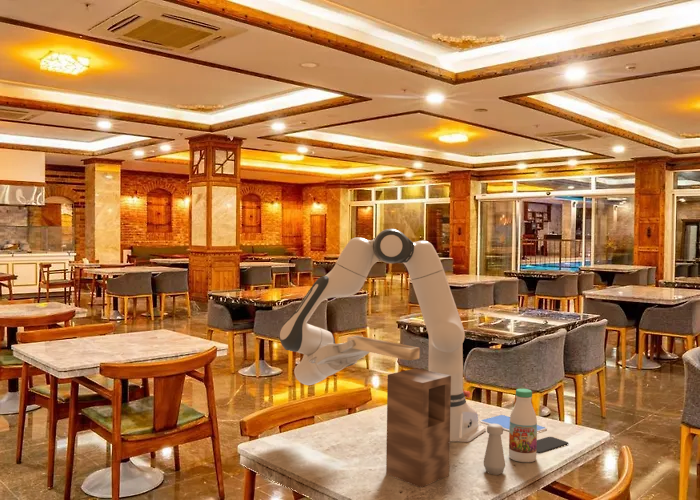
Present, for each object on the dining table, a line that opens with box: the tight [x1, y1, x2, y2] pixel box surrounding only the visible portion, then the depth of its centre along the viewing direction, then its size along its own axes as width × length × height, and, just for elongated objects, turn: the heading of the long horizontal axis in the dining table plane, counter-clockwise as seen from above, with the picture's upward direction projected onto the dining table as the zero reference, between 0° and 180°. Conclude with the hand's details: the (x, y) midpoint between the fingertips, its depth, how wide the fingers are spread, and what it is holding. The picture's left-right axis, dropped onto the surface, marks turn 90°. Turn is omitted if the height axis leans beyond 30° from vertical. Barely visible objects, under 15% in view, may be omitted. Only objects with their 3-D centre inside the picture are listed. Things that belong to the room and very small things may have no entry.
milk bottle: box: [508, 388, 538, 463], centre depth 179 cm, size 8×8×20 cm
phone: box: [536, 436, 569, 454], centre depth 191 cm, size 7×1×15 cm
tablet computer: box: [479, 414, 548, 433], centre depth 210 cm, size 19×13×1 cm, turn 37°
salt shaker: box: [483, 424, 506, 476], centre depth 169 cm, size 6×6×13 cm
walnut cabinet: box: [385, 367, 451, 488], centre depth 166 cm, size 12×12×27 cm
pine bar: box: [346, 335, 421, 361], centre depth 175 cm, size 4×24×3 cm, turn 45°
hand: (360, 341), depth 181 cm, fingers closed on pine bar, 4 cm apart
